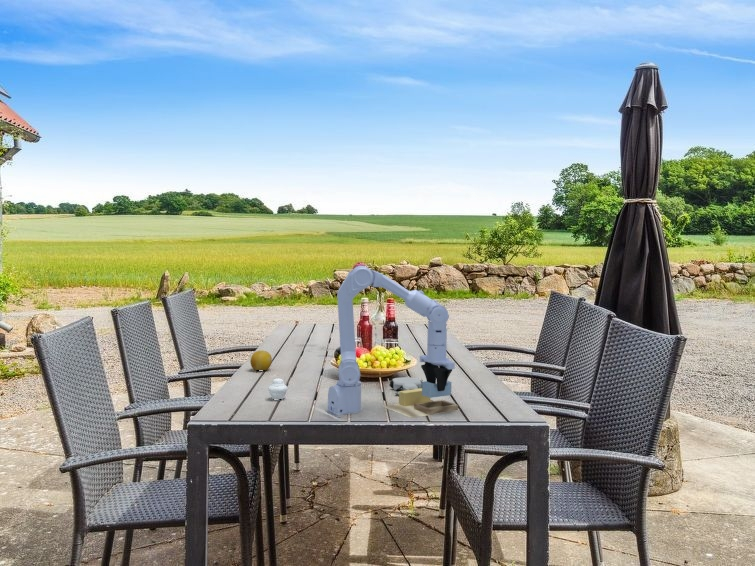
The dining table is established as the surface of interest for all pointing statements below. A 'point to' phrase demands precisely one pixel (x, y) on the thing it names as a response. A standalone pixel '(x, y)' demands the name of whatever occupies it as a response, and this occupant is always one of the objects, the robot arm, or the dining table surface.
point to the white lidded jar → (277, 389)
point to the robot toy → (405, 384)
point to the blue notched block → (435, 390)
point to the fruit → (261, 360)
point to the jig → (423, 408)
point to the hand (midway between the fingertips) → (436, 389)
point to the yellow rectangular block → (412, 397)
